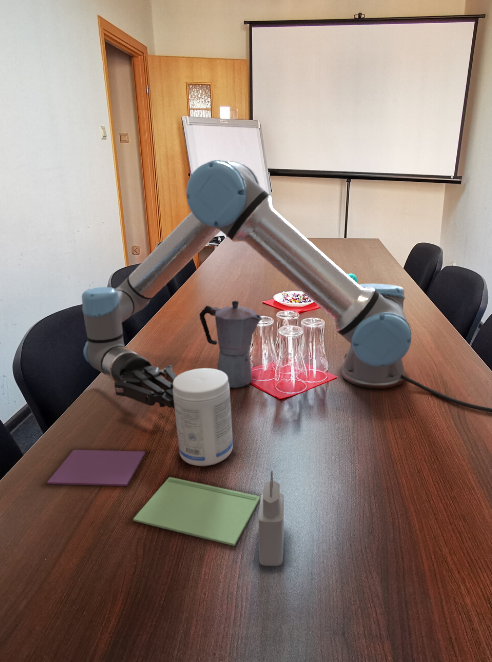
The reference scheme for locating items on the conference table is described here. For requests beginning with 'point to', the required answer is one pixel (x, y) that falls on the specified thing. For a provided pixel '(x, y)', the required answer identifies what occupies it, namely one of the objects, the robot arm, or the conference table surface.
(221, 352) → the moka pot
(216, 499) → the sage cloth
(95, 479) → the plum cloth
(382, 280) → the conference table surface
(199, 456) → the supplement tub
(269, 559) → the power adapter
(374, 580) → the conference table surface
